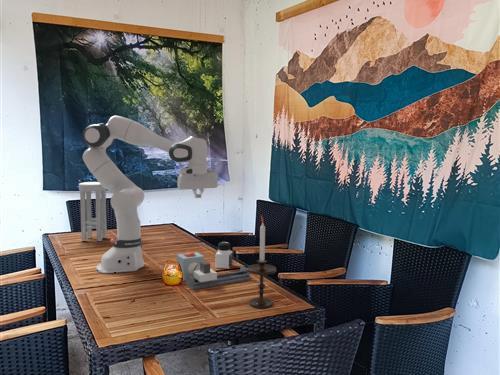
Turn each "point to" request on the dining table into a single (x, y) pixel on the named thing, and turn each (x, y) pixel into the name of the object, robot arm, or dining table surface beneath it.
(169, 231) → the dining table surface
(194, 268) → the gauge cabinet
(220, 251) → the medicine bottle
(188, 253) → the button
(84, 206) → the stool
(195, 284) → the rail
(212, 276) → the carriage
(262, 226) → the candlestick
